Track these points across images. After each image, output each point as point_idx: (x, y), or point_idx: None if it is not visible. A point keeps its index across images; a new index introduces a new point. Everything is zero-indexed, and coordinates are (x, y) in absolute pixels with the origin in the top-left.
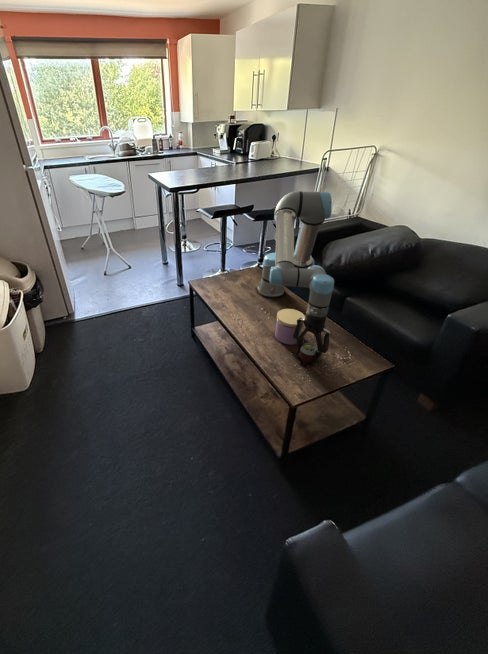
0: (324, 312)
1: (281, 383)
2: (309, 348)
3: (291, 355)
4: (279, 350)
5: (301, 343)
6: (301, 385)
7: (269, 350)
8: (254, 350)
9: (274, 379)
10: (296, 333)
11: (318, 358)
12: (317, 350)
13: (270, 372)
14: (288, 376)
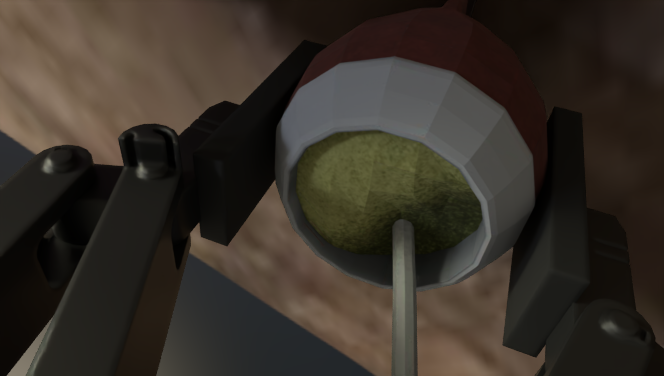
0: None
1: (354, 342)
2: (392, 200)
3: (271, 47)
4: (151, 34)
5: (243, 185)
6: (478, 335)
7: (102, 81)
8: (47, 134)
9: (305, 324)
10: (33, 329)
11: (582, 138)
12: (528, 331)
13: (255, 284)
14: (366, 287)
